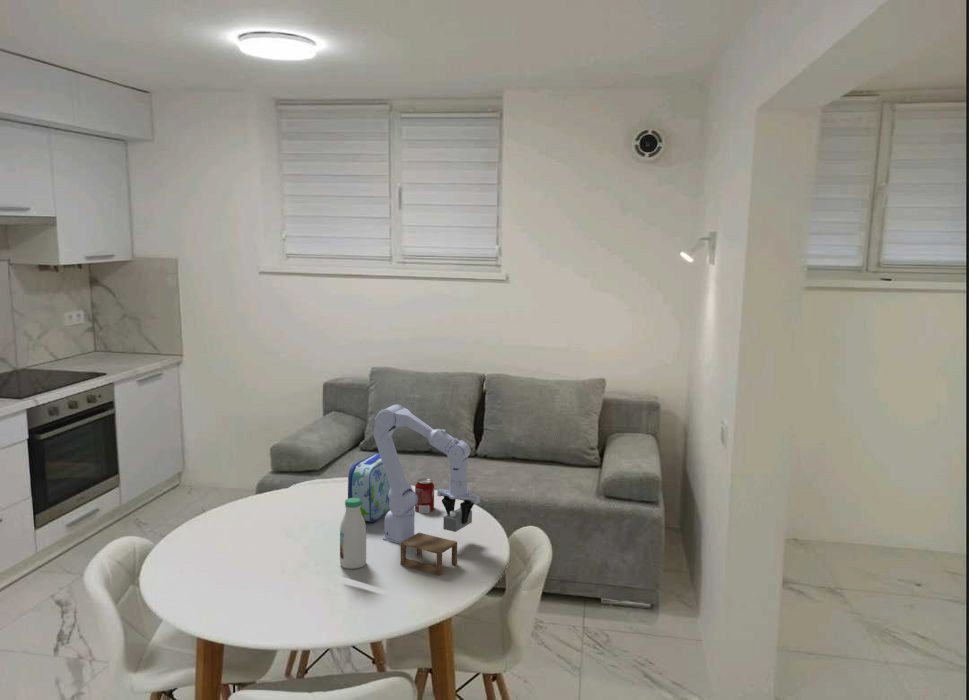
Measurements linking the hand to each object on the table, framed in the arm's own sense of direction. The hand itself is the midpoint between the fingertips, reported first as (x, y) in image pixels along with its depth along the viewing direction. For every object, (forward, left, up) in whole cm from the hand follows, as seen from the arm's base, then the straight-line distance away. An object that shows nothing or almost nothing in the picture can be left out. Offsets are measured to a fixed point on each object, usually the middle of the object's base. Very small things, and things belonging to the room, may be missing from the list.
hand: (457, 521), depth 236 cm
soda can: (-26, +20, -9) cm, 34 cm away
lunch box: (-41, +10, -9) cm, 44 cm away
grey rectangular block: (0, 0, -1) cm, 1 cm away
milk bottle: (-19, -28, -9) cm, 35 cm away
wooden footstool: (0, -16, -8) cm, 18 cm away
